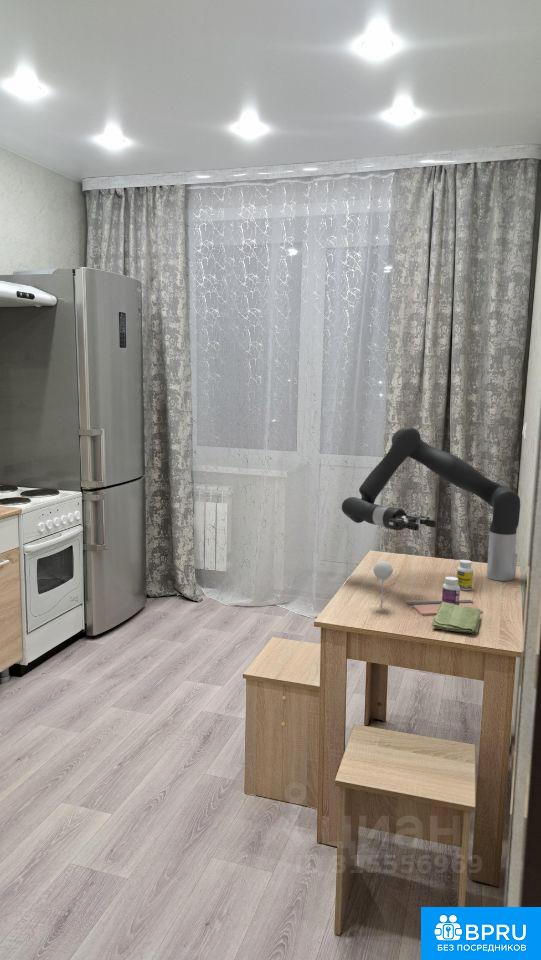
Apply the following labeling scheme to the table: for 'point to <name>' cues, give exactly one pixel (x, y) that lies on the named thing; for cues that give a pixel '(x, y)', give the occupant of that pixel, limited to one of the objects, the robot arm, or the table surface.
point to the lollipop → (382, 573)
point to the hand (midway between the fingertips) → (426, 525)
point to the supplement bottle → (465, 575)
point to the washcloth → (457, 618)
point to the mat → (436, 606)
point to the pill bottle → (451, 591)
